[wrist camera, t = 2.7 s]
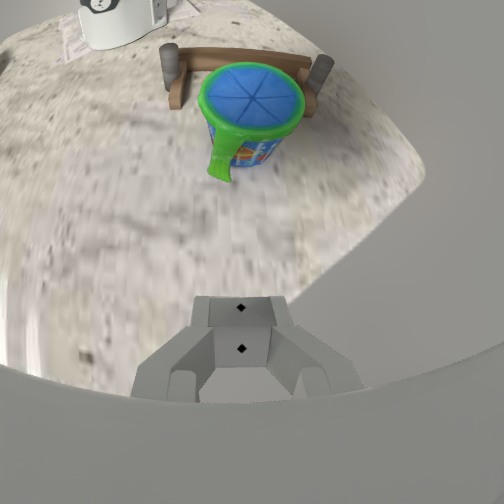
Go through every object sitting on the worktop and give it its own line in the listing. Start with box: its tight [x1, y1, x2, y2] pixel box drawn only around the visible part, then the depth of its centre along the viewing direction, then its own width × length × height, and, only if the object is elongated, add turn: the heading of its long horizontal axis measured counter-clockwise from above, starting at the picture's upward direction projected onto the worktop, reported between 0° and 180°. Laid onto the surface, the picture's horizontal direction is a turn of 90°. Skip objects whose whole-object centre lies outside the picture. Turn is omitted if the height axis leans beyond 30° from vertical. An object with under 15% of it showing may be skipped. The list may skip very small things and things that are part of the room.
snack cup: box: [198, 62, 305, 182], centre depth 28 cm, size 16×10×10 cm
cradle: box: [159, 43, 334, 117], centre depth 31 cm, size 10×23×8 cm, turn 91°
